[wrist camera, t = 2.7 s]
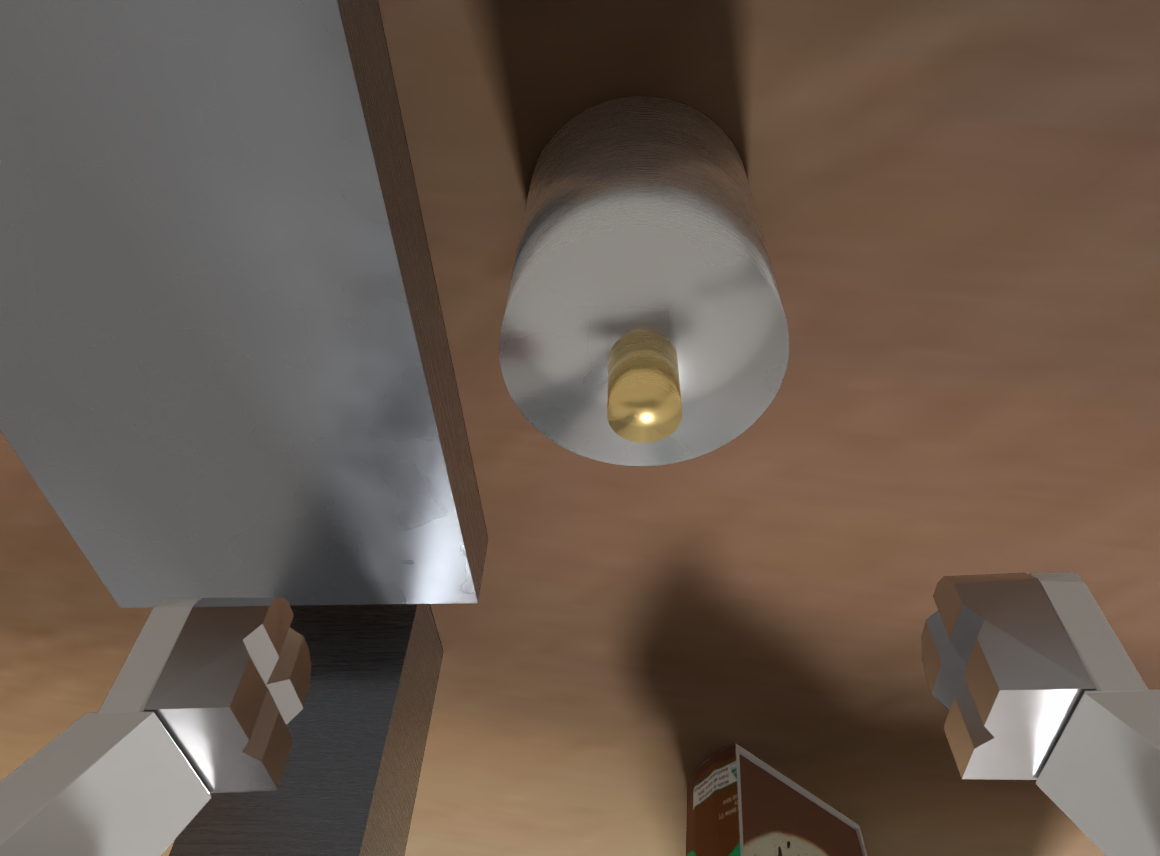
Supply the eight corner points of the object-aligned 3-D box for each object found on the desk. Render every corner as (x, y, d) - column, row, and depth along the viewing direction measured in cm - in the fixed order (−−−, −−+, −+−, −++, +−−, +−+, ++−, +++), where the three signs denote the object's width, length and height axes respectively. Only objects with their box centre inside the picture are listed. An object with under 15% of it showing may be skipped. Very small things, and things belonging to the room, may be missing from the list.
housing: (755, 89, 17) (821, 270, 12) (742, 297, 21) (788, 520, 15) (516, 102, 18) (466, 284, 12) (539, 305, 21) (509, 525, 15)
